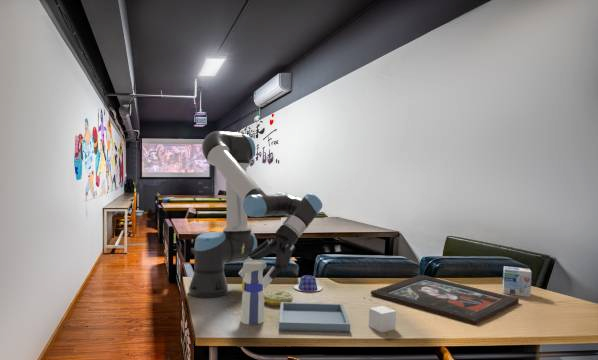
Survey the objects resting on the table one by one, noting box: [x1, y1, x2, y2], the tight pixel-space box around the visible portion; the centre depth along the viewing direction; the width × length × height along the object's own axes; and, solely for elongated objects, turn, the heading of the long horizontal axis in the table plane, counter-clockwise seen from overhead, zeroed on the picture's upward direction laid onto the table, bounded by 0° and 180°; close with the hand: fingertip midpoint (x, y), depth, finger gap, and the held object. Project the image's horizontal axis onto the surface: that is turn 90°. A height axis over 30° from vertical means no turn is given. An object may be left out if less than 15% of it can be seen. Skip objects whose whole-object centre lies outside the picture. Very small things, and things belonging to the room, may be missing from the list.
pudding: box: [293, 275, 323, 293], centre depth 178 cm, size 12×12×5 cm
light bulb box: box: [502, 265, 533, 298], centre depth 182 cm, size 11×7×11 cm, turn 68°
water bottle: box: [240, 244, 268, 326], centre depth 137 cm, size 8×9×25 cm
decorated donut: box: [264, 290, 294, 307], centre depth 158 cm, size 10×11×4 cm
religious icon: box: [370, 274, 520, 326], centre depth 170 cm, size 40×45×3 cm
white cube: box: [368, 305, 397, 333], centre depth 135 cm, size 6×6×6 cm
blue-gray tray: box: [278, 301, 351, 334], centre depth 140 cm, size 22×20×3 cm
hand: (251, 280), depth 136 cm, fingers open, 13 cm apart
